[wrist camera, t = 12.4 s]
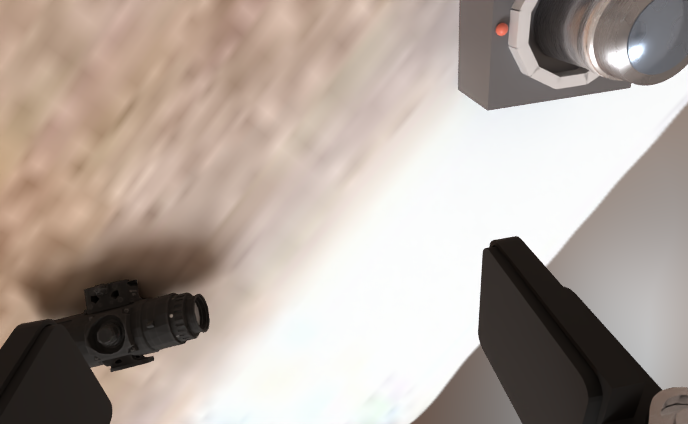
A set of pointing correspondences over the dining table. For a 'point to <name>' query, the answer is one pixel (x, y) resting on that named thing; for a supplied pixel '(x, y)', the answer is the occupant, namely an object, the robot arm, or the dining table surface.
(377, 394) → the dining table surface
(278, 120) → the dining table surface
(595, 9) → the lens
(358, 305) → the dining table surface
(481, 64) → the grey ring-socket block
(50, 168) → the dining table surface
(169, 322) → the night vision scope
